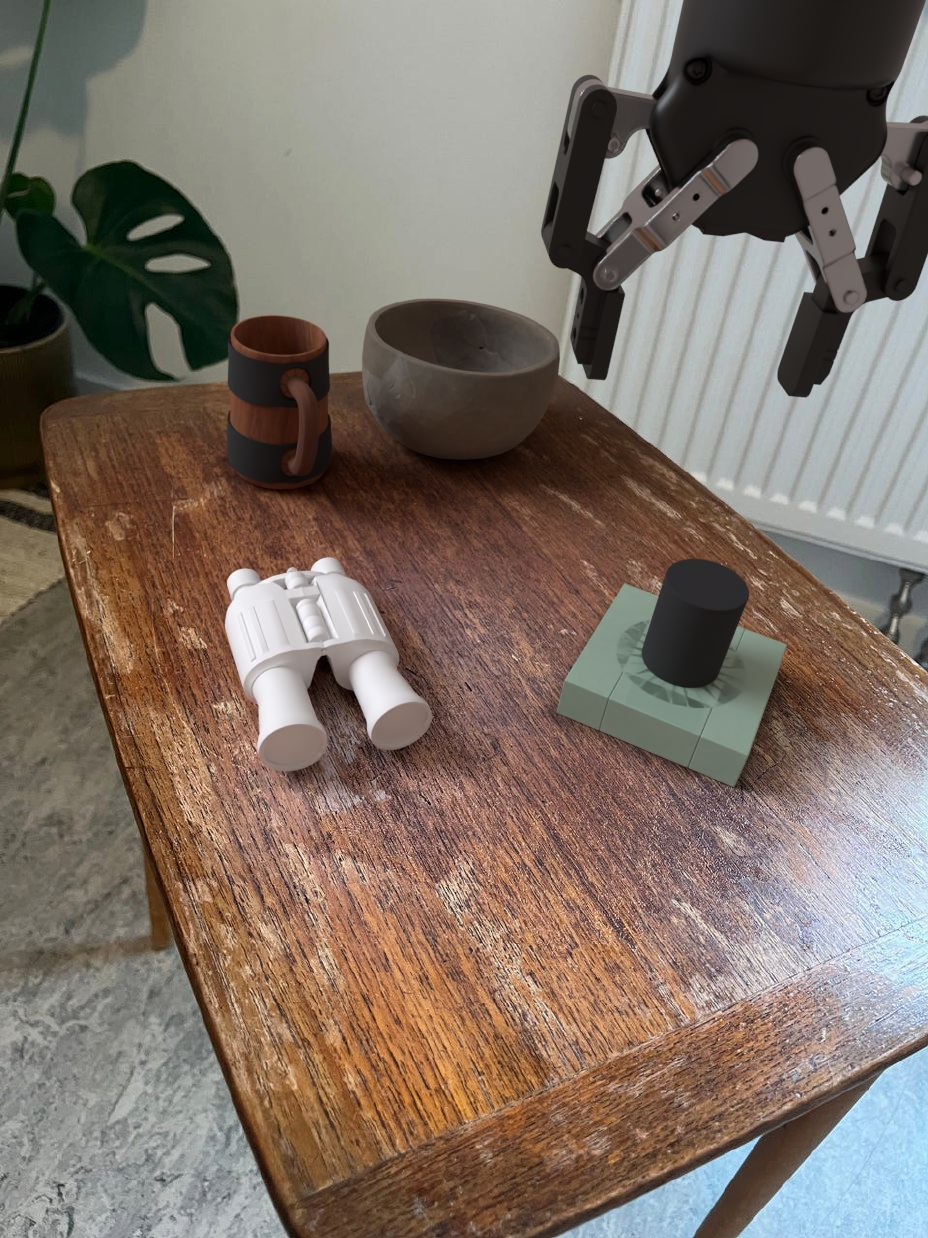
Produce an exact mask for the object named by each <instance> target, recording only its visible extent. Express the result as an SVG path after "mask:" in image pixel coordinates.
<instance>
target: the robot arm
mask: <svg viewBox="0 0 928 1238" xmlns="http://www.w3.org/2000/svg"><path fill="white" fill-rule="evenodd" d="M926 1H927V0H682V4H681V9H680V13H679V18H678V23H677V26H676V27H677V28H676V32H675V36H674V41H673V44H672V45H673V46H672V51H671V56H670V61H669V64H668V67H667V70H666V71H665V73H664V76H663V78H662V79H661V81H660V83H659V85H657V87H656V89H655V90H654V91H653V92H652V94H649V93H642V92H639V91H633V90H627V89H621V88H617V87H612V86H608V85H606V84H604V82H603V81H602V79H600V78H599V77H598V76H596V75H595V74H585V75H583V76H580V77H579V78H578V79H577V80H576V81H575V82H574V83H573V86H572V88H571V90H570V95H569V100H568V105H567V110H566V114H565V117H564V123H563V126H562V127H563V128H562V131H561V137H560V141H559V146H558V152H557V154H556V159H555V164H554V169H553V174H552V177H551V183H550V186H549V192H548V197H547V200H546V206H545V209H544V215H543V219H542V223H541V227H540V236H541V239H542V241H543V244H544V247H545V250H546V253H547V255H548V258H549V261H550V262H551V264H552V265H553V266H554V267H556V268H558V269H563V270H565V269H566V270H567V269H568V271H569V270H570V271H572V272H573V273H576V274H577V275H579V276H580V283H579V288H578V293H577V299H576V305H575V310H574V315H573V320H572V324H571V330H570V336H569V339H570V343H571V348H572V352H573V354H574V358H575V360H576V363H577V365H582V368H583V371H584V374H585V378H586V379H587V380H595V381H606V380H607V377H608V374H609V369H610V366H611V361H612V356H613V352H614V347H615V343H616V339H617V333H618V329H619V324H620V320H621V315H622V311H623V306H624V303H625V297H626V292H625V291H624V288H623V286H622V284H623V283H624V282H625V281H626V280H627V279H629V277H631V275H632V274H634V272H636V271H637V270H638V269H639V268H640V267H641V266H642V265H643V264H644V263H645V262H646V261H647V260H648V259H649V258H650V257H651V256H652V255H654V254H656V253H658V252H662V251H664V250H665V249H667V248H668V247H670V246H671V245H672V244H673V242H674V241H675V240H677V239H678V238H679V237H680V236H681V235H682V234H683V233H684V232H685V231H686V230H687V229H688V228H689V227H690V226H693V227H694V228H696V229H698V230H699V231H700V232H701V234H702V235H705V236H714V237H727V236H728V237H729V236H733V235H739V234H748V235H750V236H752V237H755V238H757V239H760V240H762V241H764V242H775V243H785V242H786V238H788V237H792V236H793V235H794V236H795V238H796V240H797V242H798V243H799V245H800V247H801V249H802V252H803V255H804V258H805V260H806V263H807V265H808V266H807V267H808V268H809V271H810V274H811V277H812V279H813V282H814V288H813V291H811V292H810V291H803V294H802V297H801V299H800V303H799V305H798V308H797V312H796V314H795V317H794V320H793V323H792V326H791V329H790V332H789V334H788V338H787V340H786V344H785V347H784V349H783V352H782V355H781V359H780V361H779V365H778V368H777V373H776V376H777V377H776V378H777V382H778V383H779V384H780V386H781V388H782V389H783V391H784V392H785V393H786V395H787V396H788V397H792V398H794V397H795V398H805V399H806V398H808V397H810V395H811V393H812V391H813V387H814V385H815V386H816V385H817V386H822V384H823V383H824V381H825V380H826V379H827V378H828V376H829V375H830V374H831V371H832V368H833V365H834V363H835V360H836V358H837V355H838V353H839V352H838V351H840V347H841V345H842V342H843V339H844V337H845V334H846V331H847V329H848V326H849V324H850V320H851V318H852V316H853V314H854V313H855V312H856V311H857V310H858V309H860V307H862V306H863V305H864V304H867V303H870V302H875V301H878V300H881V299H886V298H888V300H891V301H893V302H901V301H904V300H906V299H908V298H909V297H910V296H911V295H912V294H913V293H914V292H915V291H916V288H917V286H918V284H919V281H920V278H921V275H922V272H923V269H924V267H925V264H926V260H927V258H928V115H926V114H925V115H923V114H922V115H918V116H915V117H914V118H912V119H911V120H910V121H909V122H903V121H902V122H901V121H887V104H888V99H889V95H890V94H891V91H892V89H893V87H894V85H895V83H896V82H897V80H898V78H899V76H900V75H901V73H902V70H903V68H904V65H905V61H906V59H907V56H908V53H909V50H910V47H911V44H912V42H913V39H914V36H915V33H916V30H917V27H918V24H919V21H920V19H921V15H922V13H923V10H924V7H925V5H926ZM642 130H645V133H646V135H647V139H648V140H649V144H650V145H651V148H652V151H653V153H654V155H655V158H656V160H657V162H658V164H657V166H655V168H654V169H653V170H652V171H650V173H649V174H648V175H646V177H645V178H644V179H643V180H642V181H641V182H639V184H638V185H636V187H635V188H634V189H633V190H632V191H631V192H630V193H629V194H628V195H627V196H626V197H625V198H624V200H623V202H622V206H621V208H620V209H619V210H618V211H617V213H615V214H614V216H612V217H611V219H610V220H609V221H608V222H607V223H606V224H604V225H603V227H601V229H600V230H599V231H598V232H596V233H595V234H594V233H592V232H590V231H588V229H589V225H590V222H591V217H592V213H593V208H594V205H595V200H596V196H597V193H598V187H599V184H600V180H601V176H602V172H603V167H604V164H605V160H606V159H609V160H611V159H615V158H616V157H618V156H620V155H621V154H622V153H623V151H625V149H626V147H627V144H628V142H629V140H630V138H631V137H632V136H633V135H634V134H636V133H637V132H638V131H642ZM880 158H881V159H880ZM879 159H880V160H881V166H880V176H881V178H882V180H883V181H884V182H885V183H886V185H885V189H884V192H883V196H882V199H881V201H880V205H879V208H878V211H877V215H876V218H875V222H874V225H873V228H872V231H871V234H870V237H869V241H868V244H867V247H866V251H865V254H864V257H859V258H857V255H856V250H857V245H856V243H855V239H854V235H853V233H852V230H851V226H850V224H849V220H848V217H847V215H846V211H845V208H844V204H843V202H842V199H841V196H842V195H843V194H844V193H845V192H846V191H847V190H848V189H849V188H850V187H851V186H852V185H853V184H855V182H857V181H858V180H859V179H860V178H861V177H862V176H863V175H864V174H866V172H868V171H869V170H870V168H872V167H873V166H874V165H875V164H876V163H877V161H878V160H879Z"/></svg>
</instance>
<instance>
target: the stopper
mask: <svg viewBox="0 0 928 1238" xmlns="http://www.w3.org/2000/svg"><path fill="white" fill-rule="evenodd" d="M657 596H658V600H657V603H656V606H655V609H654V612H653V616H652V619H651V622H650V625H649V628H648V631H647V635H646V638H645V641H644V644H643V647H642V659H643V661H644V663H645V665H646V667H647V668H648V669H649V670H650V671H651V672H652V673H653V674H654V675H655V676H657V677H658V678H660V679H661V680H663V681H665V682H667V683H670V684H673V685H676V686H680V687H686V688H697V687H703V686H706V685H708V684H710V683H712V682H713V681H714V680H715V679H716V678H717V677H718V675H719V672H720V670H721V667H722V665H723V662H724V659H725V657H726V654H727V652H728V649H729V647H730V644H731V642H732V639H733V636H734V634H735V631H736V629H737V626H739V624H740V621H741V619H742V616H743V614H744V611H745V608H746V606H747V603H748V600H749V597H750V590H749V586H748V585H747V583H746V581H745V580H744V579H743V578H742V577H741V575H739V574H738V573H737V572H736V571H735V570H733V569H731V568H730V567H728V566H726V565H724V564H721V563H718V562H716V561H713V560H709V559H703V558H685V559H680V560H678V561H675V562H673V563H672V564H671V565H670V566H669V567H668V568H667V569H666V571H665V574H664V578H663V580H662V585H661V587H660V590H659V593H658V595H657Z"/></svg>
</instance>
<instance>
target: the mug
mask: <svg viewBox="0 0 928 1238" xmlns="http://www.w3.org/2000/svg"><path fill="white" fill-rule="evenodd" d="M227 351H228V353H227V355H228V359H227V361H228V362H227V387H228V389H229V397H230V398H229V401H230V406H229V407H230V408H229V409H230V410H229V411H228V413H227V420H226V453H227V461H228V463H229V465H230V466H231V468H233V470H234V471H235V472H236V474H237V475H238V476H239V477H240V478H241V479H243V480H244V481H245V482H247V483H249V484H251V485H254V486H256V487H261V488H263V489H270V490H292V489H300V488H303V487H306V486H309V485H312V484H313V483H315V482H316V481H318V480H319V479H320V478H321V477H322V476H323V475H324V473H325V472H326V471H327V470H328V469H329V468H330V466H331V463H332V457H333V442H332V441H333V438H332V437H333V436H332V420H331V415H330V414H329V395H328V394H329V392H330V390H331V377H330V341H329V338H328V337H327V336H326V333H325V332H324V330H323V329H322V328H321V327H319V326H318V325H316V324H314V323H313V322H311V321H308V320H305V319H302V318H298V317H295V316H288V315H280V314H279V315H278V314H277V315H276V314H273V315H272V314H269V315H268V314H267V315H258V316H251V317H249V318H246V319H245V318H244V319H243V320H240V321H239V322H238V323H236V324H235V325H234V326H233V327H232V329H231V330H230V332H229V333H228V336H227Z"/></svg>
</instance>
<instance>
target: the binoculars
mask: <svg viewBox="0 0 928 1238" xmlns="http://www.w3.org/2000/svg"><path fill="white" fill-rule="evenodd" d="M226 586H227V590H228V593H229V596H230V600H231V602H230V604H229V606H228V607H227V610H226V614H225V620H224V629H225V633H226V636H227V640H228V643H229V646H230V650H231V653H232V656H233V660H234V663H235V667H236V670H237V672H238V677H239V680H240V683H241V686H242V690H243V693H244V696H245V697H246V698H247V699H248V701H250V702H251V703H252V704H254V705H257V706H258V728H259V729H258V731H259V734H258V737H257V742H256V743H257V744H256V750H257V754H258V758H259V759H260V762H261V763H262V764H263V765H264V766H265V767H267V768H269V769H270V770H273V771H277V772H278V771H279V772H295V771H300V770H302V769H306V768H309V767H310V766H312V765H313V764H315V763H316V762H318V761H319V760H320V759H321V758H322V757H323V756H324V755H325V753H326V752H327V749H328V745H329V744H328V743H329V742H328V735H327V731H326V728H325V727H324V726H323V725H322V723H321V722H320V721H319V720H318V717H317V715H316V712H315V709H314V707H313V704H312V701H311V698H310V695H309V692H308V689H309V688H310V687H311V684H312V680H313V677H314V673H315V670H316V667H317V664H318V660H320V658H321V657H322V656H326V658H327V661H328V664H329V666H330V669H331V671H332V674H333V676H334V678H335V681H336V682H337V684H338V685H339V686H340V687H342V688H344V689H346V690H348V691H353V692H354V694H355V697H356V699H357V702H358V704H359V706H360V708H361V711H362V714H363V716H364V719H365V721H366V729H367V735H368V738H369V739H370V741H371V742H372V744H373V745H374V746H375V747H376V748H378V749H379V750H380V749H381V750H382V751H383V750H384V751H394V750H401V749H403V748H405V747H407V746H410V745H412V744H413V743H415V742H417V740H418V741H419V739H420V738H422V737H423V735H424V734H426V732H427V731H428V729H429V728H430V726H431V723H432V720H433V712H432V710H431V707H430V705H429V704H428V701H426V700H425V699H424V698H422V697H421V696H420V695H419V694H417V693H416V692H415V691H414V689H413V688H412V686H411V685H410V684H409V682H407V680H406V678H405V677H404V676H403V675H402V674H401V673H400V671H398V666H399V663H400V654H399V651H398V649H397V646H396V645H395V643H394V640H393V638H392V636H391V634H390V632H389V630H388V628H387V626H386V624H385V621H384V620H383V618H382V617H383V616H382V615H381V614H380V611H379V609H378V607H377V604H376V603H375V600H374V599H373V597H372V595H371V593H370V591H369V590H368V589H367V588H365V586H363V585H362V584H361V583H360V582H359V581H357V580H355V579H353V578H351V577H348V575H347V573H346V572H345V570H344V568H343V565H342V563H341V562H340V561H339V560H338V559H336V558H334V557H322V558H320V559H318V560H317V561H316V562H315V563H314V564H313V565H312V566H311V567H310V570H298V569H297V568H296V567H294V566H292V567H289V568H288V569H287V570H286V572H283V573H280V574H275V575H273V576H270V577H267V578H265V579H263V580H262V579H261V577H260V575H259V573H258V572H257V571H256V570H254V569H252V568H239V569H236V570H235V571H233V572H232V573H231V574H230V575H229V576H228V578H227V581H226Z"/></svg>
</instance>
